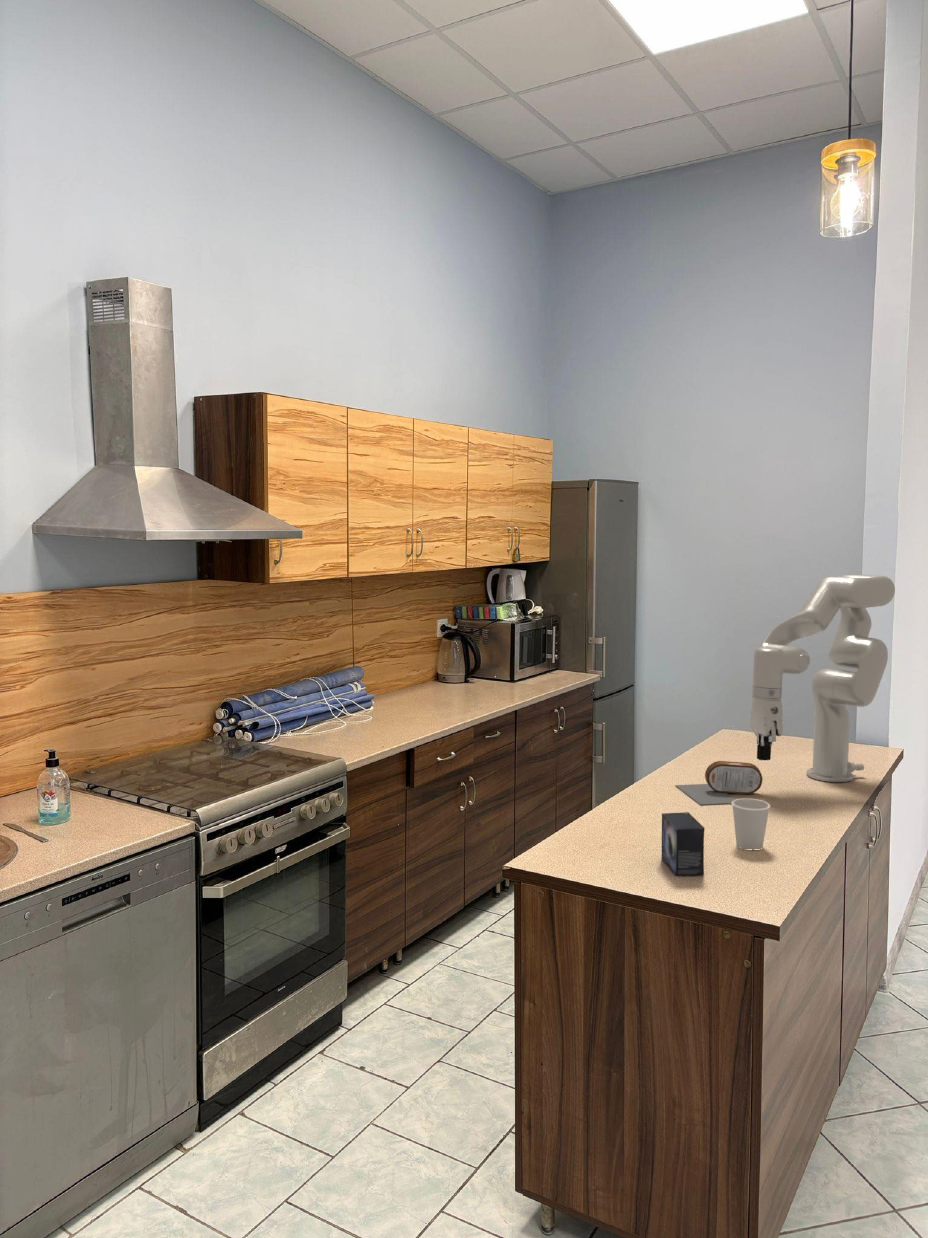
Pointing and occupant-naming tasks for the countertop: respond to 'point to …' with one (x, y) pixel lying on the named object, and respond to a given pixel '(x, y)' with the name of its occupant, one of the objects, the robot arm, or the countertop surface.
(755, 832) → the dixie cup
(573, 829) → the countertop surface
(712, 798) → the mat
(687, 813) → the small box
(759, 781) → the tin
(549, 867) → the countertop surface
